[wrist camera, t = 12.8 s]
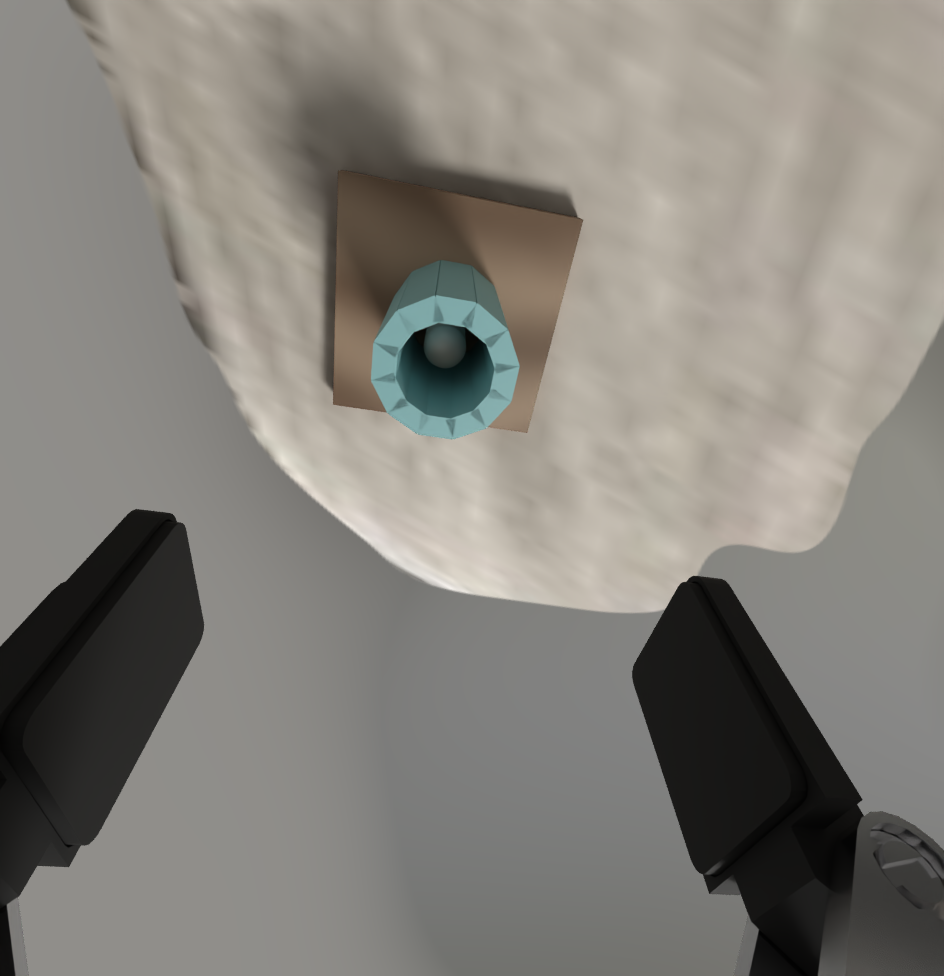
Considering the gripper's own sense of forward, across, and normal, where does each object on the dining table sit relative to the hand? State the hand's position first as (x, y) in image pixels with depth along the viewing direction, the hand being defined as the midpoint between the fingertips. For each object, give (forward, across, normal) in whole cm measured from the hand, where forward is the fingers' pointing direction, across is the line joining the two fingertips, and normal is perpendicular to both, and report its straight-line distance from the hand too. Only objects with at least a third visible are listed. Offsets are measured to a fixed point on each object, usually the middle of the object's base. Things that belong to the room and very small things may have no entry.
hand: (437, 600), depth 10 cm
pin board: (+22, 0, 0) cm, 22 cm away
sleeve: (+21, 0, 0) cm, 21 cm away
